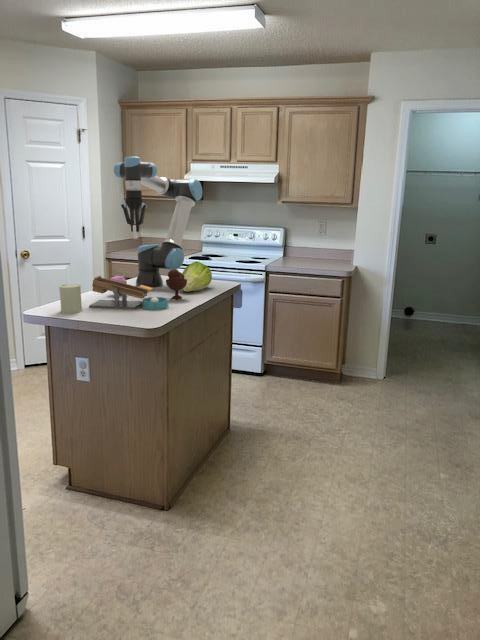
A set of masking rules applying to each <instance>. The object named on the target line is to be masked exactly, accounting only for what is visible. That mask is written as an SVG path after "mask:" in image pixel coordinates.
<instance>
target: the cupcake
mask: <svg viewBox="0 0 480 640" xmlns="http://www.w3.org/2000/svg"><path fill="white" fill-rule="evenodd" d="M109 280H113V281H117V282H121V283H125V284H128V282H127V280H126V278H125V277H124V276H121V275H115V276H112V277H110V279H109ZM112 293H113V294H114V292H113V291H112ZM119 296H122V294H119Z"/></svg>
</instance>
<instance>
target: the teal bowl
mask: <svg viewBox="0 0 480 640" xmlns="http://www.w3.org/2000/svg"><path fill="white" fill-rule="evenodd" d="M154 297H155V298H157V299H158V300H159V302H150V300H151V299H152V298H154ZM141 301H142V308H143V309H144V310H147V311H149V310H150V311H158V310H159V309H160V310H165V309H168V308H169V299H168V298H167V297H163V296H151V297H144V298H142V299H141ZM167 307H168V308H167ZM164 308H165V309H164Z"/></svg>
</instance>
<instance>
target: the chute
mask: <svg viewBox="0 0 480 640" xmlns="http://www.w3.org/2000/svg"><path fill="white" fill-rule="evenodd" d="M91 286H92V292H95V293H99V294H104V293H106V292H108V291H110V292H112V293H113V292H114V288H115V287H117V288H118V289H119V294H124V295H127V297H133V298H137V299H141V300H143V299H144V298H146V297H147V296H148V294H149V293H150V292H152V291H153V290H154V287H152V288H151V287H147V286H143V285H141V286H139V287H137V286H136V285H132V284H128V283H127V284H125V283H121V282H117V281H113V280H110V279H109V278H103V277H102V275H98V276H97V275H96V276H95V277H94V278H93V280H92V285H91Z"/></svg>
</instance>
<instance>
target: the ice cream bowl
mask: <svg viewBox="0 0 480 640" xmlns="http://www.w3.org/2000/svg"><path fill="white" fill-rule="evenodd" d="M182 273H183V272H180V271H179V270H178V269H172V270H169V271H168V273H167V277H168V278H166V279H165V283H166V286H167V287H168V289H171V290H172V291H174V295H173V296H172V297H171V299H172V300H173V299H176V301H177V300H178V299H180V300H182V299H183V297H182V296H181V295H179V292H180V291H181V290H183V288H184V287H185V286H186V284H187V279H184V275H183V274H182Z"/></svg>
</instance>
